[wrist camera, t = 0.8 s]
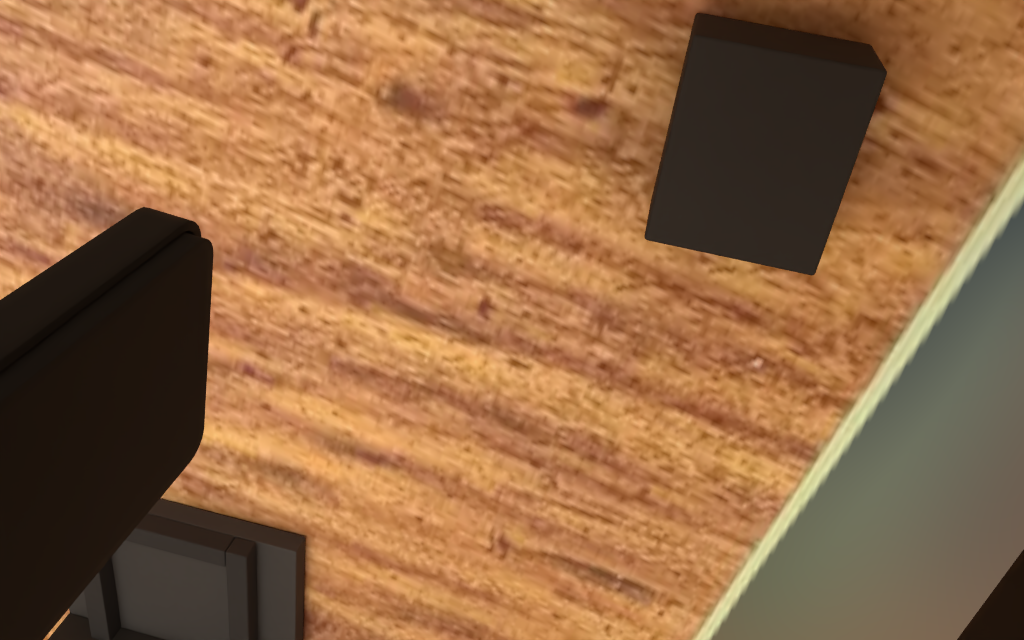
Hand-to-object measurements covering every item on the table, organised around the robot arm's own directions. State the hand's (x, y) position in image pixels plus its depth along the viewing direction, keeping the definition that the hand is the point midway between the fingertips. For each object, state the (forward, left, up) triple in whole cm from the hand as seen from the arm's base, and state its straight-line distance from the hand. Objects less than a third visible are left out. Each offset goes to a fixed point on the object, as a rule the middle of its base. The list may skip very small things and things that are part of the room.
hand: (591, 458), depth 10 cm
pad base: (+32, -17, -19) cm, 41 cm away
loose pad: (+2, +3, -19) cm, 20 cm away
